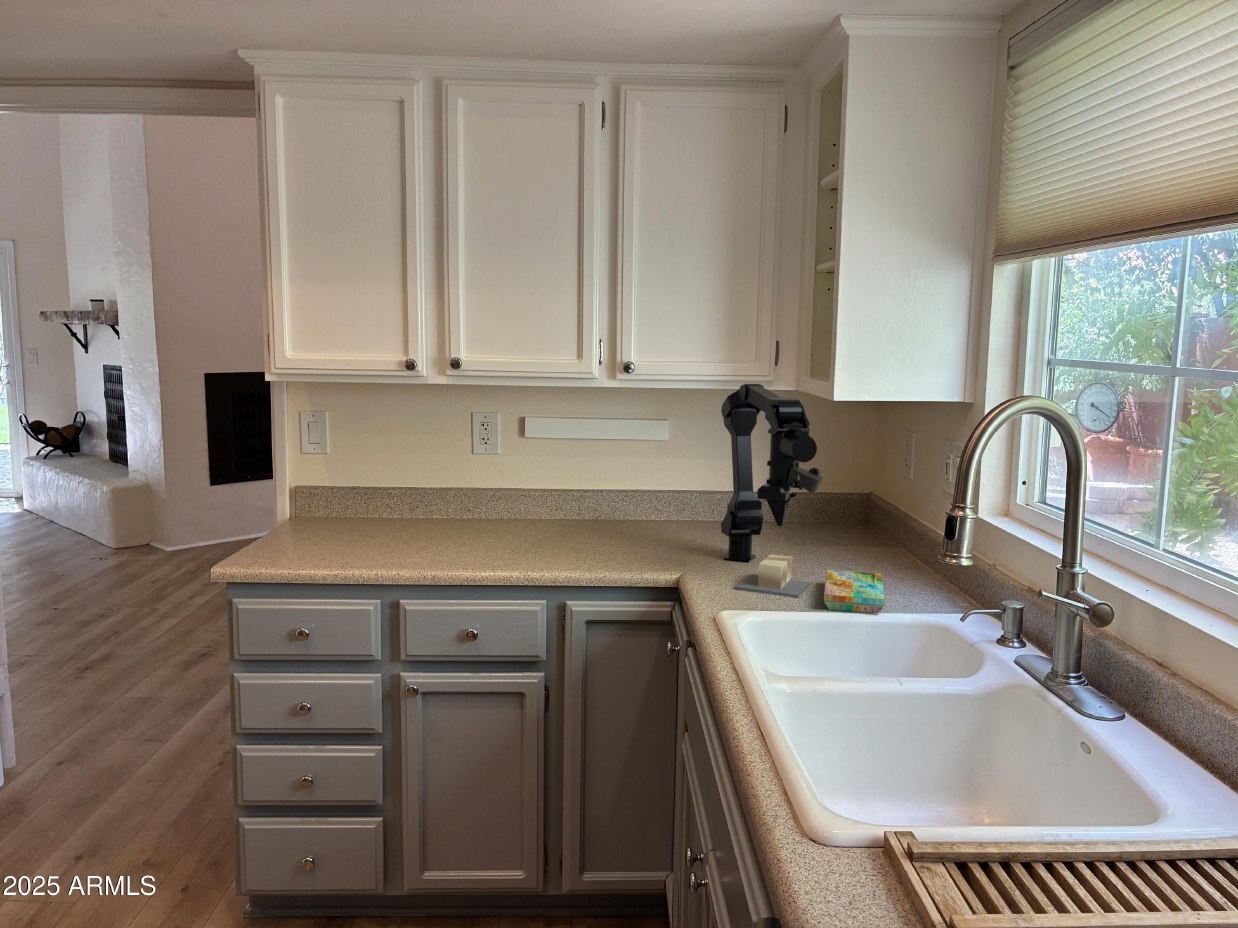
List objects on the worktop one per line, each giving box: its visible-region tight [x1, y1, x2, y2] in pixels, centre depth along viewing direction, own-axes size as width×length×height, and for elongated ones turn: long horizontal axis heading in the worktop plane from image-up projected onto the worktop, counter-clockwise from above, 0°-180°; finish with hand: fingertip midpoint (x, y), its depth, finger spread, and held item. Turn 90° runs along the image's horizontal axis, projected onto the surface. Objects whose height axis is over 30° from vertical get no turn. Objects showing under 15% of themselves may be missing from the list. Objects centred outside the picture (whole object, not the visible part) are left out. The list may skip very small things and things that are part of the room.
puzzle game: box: [823, 569, 885, 614], centre depth 195 cm, size 12×5×20 cm
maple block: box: [757, 553, 794, 589], centre depth 205 cm, size 5×5×10 cm
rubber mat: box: [734, 574, 811, 599], centre depth 203 cm, size 11×14×1 cm
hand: (780, 525), depth 206 cm, fingers closed
